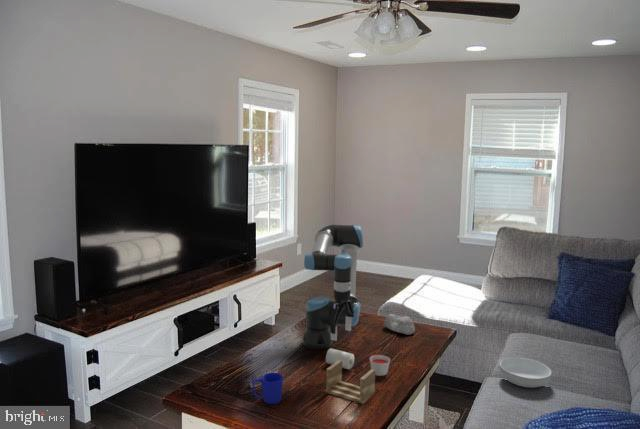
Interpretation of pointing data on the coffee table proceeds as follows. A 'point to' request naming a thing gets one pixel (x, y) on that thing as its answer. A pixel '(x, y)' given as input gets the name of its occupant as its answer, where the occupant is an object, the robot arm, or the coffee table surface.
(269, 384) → the mug
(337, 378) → the oak roll cradle
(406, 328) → the decorative stone
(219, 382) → the coffee table surface
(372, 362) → the candle
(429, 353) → the coffee table surface
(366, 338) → the coffee table surface
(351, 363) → the paper roll
